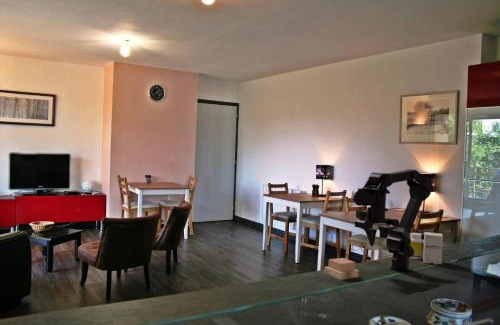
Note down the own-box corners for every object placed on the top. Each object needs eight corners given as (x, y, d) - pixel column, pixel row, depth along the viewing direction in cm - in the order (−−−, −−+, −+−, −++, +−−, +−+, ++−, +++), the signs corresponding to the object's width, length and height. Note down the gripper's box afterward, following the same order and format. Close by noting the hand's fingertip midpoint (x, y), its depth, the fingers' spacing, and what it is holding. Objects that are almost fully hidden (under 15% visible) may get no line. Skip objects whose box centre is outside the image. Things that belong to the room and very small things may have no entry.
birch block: (341, 272, 164) (342, 264, 164) (358, 278, 156) (358, 270, 156) (324, 274, 159) (324, 267, 159) (340, 281, 152) (340, 273, 152)
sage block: (376, 246, 165) (376, 236, 165) (385, 248, 160) (386, 238, 160) (366, 247, 162) (367, 237, 162) (376, 250, 158) (377, 239, 158)
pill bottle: (423, 259, 187) (424, 235, 187) (409, 258, 188) (410, 234, 188) (420, 256, 193) (421, 233, 193) (406, 255, 195) (407, 232, 194)
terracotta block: (342, 265, 163) (342, 257, 163) (355, 270, 156) (355, 262, 156) (328, 267, 159) (328, 259, 159) (340, 272, 153) (340, 263, 153)
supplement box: (423, 263, 181) (424, 234, 181) (423, 259, 188) (424, 231, 188) (441, 265, 178) (443, 235, 178) (441, 261, 185) (442, 233, 185)
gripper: (379, 202, 173) (377, 239, 173) (345, 203, 163) (343, 243, 164) (400, 205, 163) (399, 245, 163) (366, 206, 154) (364, 249, 154)
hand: (376, 245), depth 161 cm, fingers closed on sage block, 5 cm apart
